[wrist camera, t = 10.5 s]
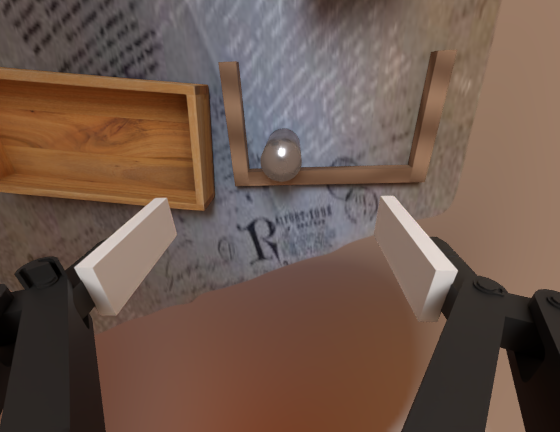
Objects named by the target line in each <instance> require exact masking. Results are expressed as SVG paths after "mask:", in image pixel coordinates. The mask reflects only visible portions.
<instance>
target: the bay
mask: <svg viewBox="0 0 560 432" xmlns="http://www.w3.org/2000/svg"><path fill="white" fill-rule="evenodd" d="M456 54H457V50H443V51H434V52H431V56H430V61H429V66H428V71H427V76H426V80H425V85H424V90H423V95H422V100H421V104H420V109H419V114H418V119H417V124H416V129H415V133H414V138H413V143H412V148H411V153H410V158H409V162H408V165H378V166H339V167H301V168H300V170H299V172H298V174H297V175H296V176H295V177H294V178H292V179H290V180H288V181H284V182H279V181H274V180H272V179H270V178H269V177H268V176H267V175H266V174H265V173H264V172H263V170H262V169H249V159H248V149H247V140H246V130H245V120H244V111H243V101H242V91H241V82H240V72H239V62H236V61H235V62H219V70H220V77H221V84H222V92H223V99H224V106H225V114H226V121H227V129H228V136H229V143H230V151H231V158H232V165H233V173H234V180H235V186H264V185H310V184H357V183H403V182H425V179H426V175H427V171H428V167H429V163H430V159H431V154H432V150H433V146H434V142H435V138H436V134H437V130H438V126H439V122H440V118H441V114H442V110H443V106H444V102H445V98H446V94H447V90H448V86H449V82H450V78H451V74H452V70H453V66H454V62H455V58H456Z"/></svg>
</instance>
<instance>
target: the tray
mask: <svg viewBox="0 0 560 432" xmlns="http://www.w3.org/2000/svg"><path fill="white" fill-rule="evenodd" d="M0 192H6V193H16V194H27V195H37V196H49V197H59V198H70V199H81V200H91V201H102V202H112V203H123V204H133V205H143V206H146V205H148V204H149V203H150V202H151V201H152V200H153V199H155V198H167V199H168V203H169V207H170V208H177V209H188V210H200V211H204V210H205V209H206V208H207V207H208V205H209V204H210V203H211V201H212V200H213V198H214V196H215V190H214V172H213V154H212V138H211V122H210V105H209V89H208V85H204V84H191V83H178V82H166V81H154V80H142V79H130V78H118V77H106V76H95V75H84V74H72V73H61V72H49V71H38V70H27V69H15V68H5V67H0Z"/></svg>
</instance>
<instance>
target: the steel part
mask: <svg viewBox="0 0 560 432" xmlns="http://www.w3.org/2000/svg"><path fill="white" fill-rule="evenodd" d="M261 167H262V170H263V172H264V173H265V174H266V175H267V176H268V177H269V178H270V179H272V180H274V181H279V182H284V181H288V180H290V179H292V178H294V177H295V176H296V175H297V174H298V172H299V170H300V168H301V151H300V142H299V138H298V136H297V135H296V134H295V133H294V132H293V131H291V130H289V129H285V128H282V129H278V130H276V131H274V132H273V133H272V134H271V135H270V137H269V139H268V141H267V144H266V146H265V148H264V151H263V153H262V156H261Z"/></svg>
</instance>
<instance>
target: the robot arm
mask: <svg viewBox="0 0 560 432" xmlns="http://www.w3.org/2000/svg"><path fill="white" fill-rule="evenodd" d="M176 236H177V233H176V229H175V225H174V222H173V218H172V214H171V211H170V207H169V203H168V199H167V198H155V199H153V200H152V201H151V202H150V203H149V204H148V205H146V206H145V207H144V208H143V209H142V210H141V211H139V212H138V213H137V214H136V215H135V216H134V217H132V218H131V219H130V220H129V221H128V222H127V223H125V224H124V225H123V226H122V227H121V228H120V229H118V230H117V231H116V232H115V233H114V234H113V235H111V236H110V237H108V238H107V239H105V240H103V241H101V242H99V243H98V244H96V245H95V246H94V247H93V248H92V249H91V251H88V252H87V253H86V254H85V255H84V256H82V257H81V258H80V259H79V260H77V261H76V262H75V263H74V264H73V265H71V266H70V267H69V268H68V269H67V270H65V271H64V269H63V267H62V265H61V264H60V262H59V260H58V258H57V257H53V256H52V257H44V258H40V259H37V260H34V261H31V262H29V263H27V264H25V265H23V266H22V267H21V268H19V269H18V270H17V271H16V273H15V276H16V277H17V279H18V280H19V282H20V283H21V284H22V286H23V287H24V289H25V290H20V291H15V292H10V290H9V289H8V288H7V286H6V285H5V284H0V414H1V412H2V410H3V414H2V419H1V424H0V432H106V430H105V423H104V414H103V405H102V397H101V389H100V381H99V372H98V364H97V356H96V348H95V339H94V331H93V322H92V318H91V316H90V314H89V312H90V311H91V310H92V309H93V308H94V306H95V307H96V309H97V311H98V312H99V314H100V315H106V316H117V314H118V313H119V312H120V310H121V309H122V308H123V306H124V305H125V304H126V302H127V301H128V300H129V298H130V297H131V296H132V294H133V293H134V292H135V290H136V289H137V288H138V286H139V285H140V284H141V282H142V281H143V280H144V278H145V277H146V276H147V274H148V273H149V272H150V270H151V269H152V268H153V266H154V265H155V264H156V262H157V261H158V260H159V258H160V257H161V256H162V254H163V253H164V252H165V250H166V249H167V248H168V246H169V245H170V244H171V242H172V241H173V240H174V238H175V237H176ZM374 236H375V238H376V240H377V242H378V244H379V246H380V248H381V250H382V252H383V254H384V256H385V258H386V260H387V262H388V263H389V265H390V267H391V269H392V271H393V273H394V275H395V277H396V279H397V281H398V283H399V285H400V287H401V289H402V291H403V292H404V294H405V296H406V298H407V300H408V302H409V304H410V306H411V308H412V310H413V312H414V314H415V316H416V318H417V320H418V321H423V322H424V321H426V322H437V321H438V319H439V317H440V314H441V312H442V313H443V314H444V316H445V318H446V319H447V321H446V324H445V326H444V328H443V331H442V333H441V335H440V338H439V341H438V343H437V345H436V348H435V350H434V353H433V355H432V358H431V360H430V363H429V365H428V367H427V370H426V372H425V375H424V377H423V380H422V382H421V385H420V387H419V389H418V392H417V394H416V397H415V399H414V402H413V404H412V407H411V409H410V411H409V414H408V416H407V419H406V421H405V424H404V426H403V429H402V431H401V432H485V427H486V422H487V416H488V410H489V405H490V399H491V393H492V388H493V382H494V376H495V371H496V365H497V360H498V354H499V349H500V347H501V348H504V349H506V351H507V355H508V359H509V364H510V368H511V372H512V376H513V380H514V385H515V389H516V393H517V397H518V402H519V406H520V410H521V414H522V418H523V422H524V426H525V431H526V432H560V292H557V291H553V290H547V289H543V290H538V291H536V292H535V294H534V295H533V296H532V298H528V297H524V296H519V295H514V294H510V293H508V292H507V291H506V289H505V288H504V287H503V286H501V285H500V284H498V283H497V282H495V281H493V280H491V279H489V278H486V277H482V276H477V275H476V274H475V272H474V271H472V269H471V268H470V267H469V266H468V265H467V264H466V263H465V262H464V261H463V260H462V259H461V258H460V257H459V255H458V254H456V252H455V251H453V249H452V248H451V247H450V246H449V245H448V244H447V243H446V242H444V241H443V240H441V239H439V238H438V237H429V236H428V235H427V234H426V233H425V232H424V231H423V230H422V228H421V227H420V226H419V225H418V224H417V223H416V221H415V220H414V219H413V218H412V217H411V215H410V214H409V213H408V212H407V211H406V210H405V208H404V207H403V206H402V205H401V204H400V203H399V202H398V200H397V199H396V198H395V197H394V196H381V197H380V202H379V208H378V214H377V219H376V225H375V230H374Z"/></svg>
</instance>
